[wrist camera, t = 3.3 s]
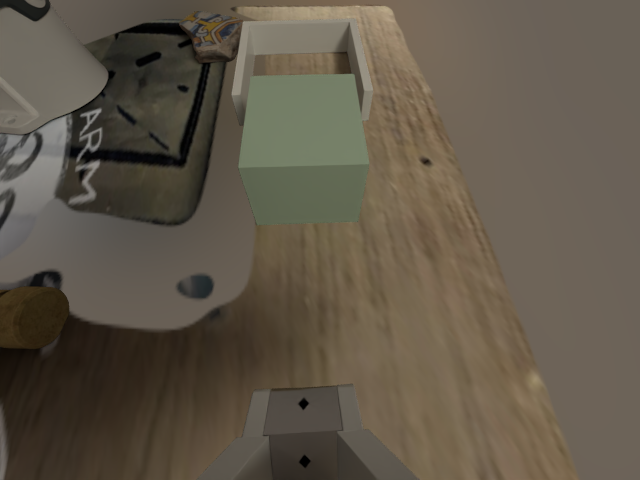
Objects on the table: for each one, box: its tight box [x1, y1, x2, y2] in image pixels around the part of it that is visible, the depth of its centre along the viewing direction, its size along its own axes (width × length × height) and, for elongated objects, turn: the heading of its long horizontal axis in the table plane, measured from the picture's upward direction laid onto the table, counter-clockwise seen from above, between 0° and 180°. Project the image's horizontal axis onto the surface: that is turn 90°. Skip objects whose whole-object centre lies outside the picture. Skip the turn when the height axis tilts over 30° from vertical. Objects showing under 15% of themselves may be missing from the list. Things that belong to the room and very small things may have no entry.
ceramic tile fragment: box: [179, 11, 244, 63], centre depth 45 cm, size 12×3×10 cm
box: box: [231, 19, 373, 125], centre depth 39 cm, size 16×17×4 cm
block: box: [238, 74, 369, 225], centre depth 29 cm, size 10×12×8 cm
